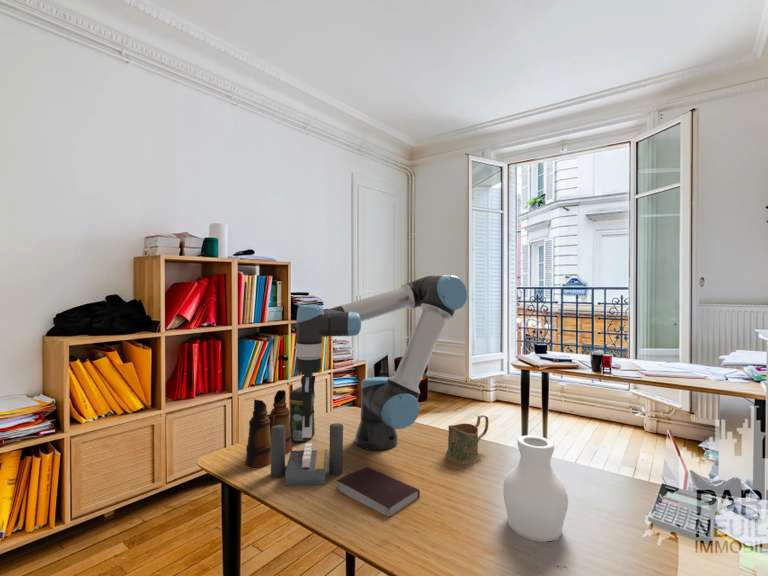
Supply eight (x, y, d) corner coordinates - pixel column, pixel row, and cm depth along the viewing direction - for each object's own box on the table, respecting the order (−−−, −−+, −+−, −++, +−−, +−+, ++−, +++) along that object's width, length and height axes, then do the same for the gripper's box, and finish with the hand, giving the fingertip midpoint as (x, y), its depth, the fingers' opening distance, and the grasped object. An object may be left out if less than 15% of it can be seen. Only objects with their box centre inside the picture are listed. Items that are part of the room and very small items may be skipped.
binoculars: (260, 470, 118) (261, 404, 118) (239, 465, 121) (240, 400, 121) (297, 448, 135) (297, 390, 135) (277, 444, 138) (278, 387, 138)
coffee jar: (298, 432, 150) (299, 383, 150) (317, 434, 148) (318, 385, 148) (285, 441, 141) (285, 389, 141) (305, 444, 138) (305, 391, 138)
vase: (582, 539, 88) (583, 450, 88) (527, 550, 84) (529, 457, 84) (539, 505, 101) (540, 428, 101) (490, 513, 97) (492, 432, 97)
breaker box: (326, 462, 124) (326, 449, 124) (325, 484, 110) (325, 469, 110) (290, 463, 123) (291, 450, 123) (285, 486, 109) (285, 470, 109)
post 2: (342, 468, 120) (343, 423, 120) (342, 475, 116) (343, 427, 116) (329, 469, 119) (329, 423, 119) (328, 475, 116) (329, 428, 116)
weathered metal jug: (500, 454, 132) (500, 419, 132) (463, 467, 122) (463, 429, 122) (474, 443, 142) (474, 409, 142) (437, 454, 132) (438, 418, 132)
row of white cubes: (311, 451, 122) (311, 443, 122) (309, 467, 111) (309, 458, 111) (305, 451, 122) (305, 443, 122) (302, 467, 111) (302, 459, 111)
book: (367, 475, 117) (367, 464, 117) (420, 499, 104) (420, 487, 104) (336, 491, 108) (336, 479, 108) (389, 520, 95) (389, 506, 95)
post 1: (285, 471, 118) (286, 424, 118) (283, 477, 114) (284, 429, 114) (271, 471, 117) (272, 424, 117) (269, 478, 113) (270, 429, 113)
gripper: (298, 353, 123) (296, 429, 123) (293, 361, 110) (291, 445, 110) (322, 353, 124) (320, 428, 124) (320, 361, 111) (318, 445, 111)
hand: (307, 436), depth 117 cm, fingers closed
